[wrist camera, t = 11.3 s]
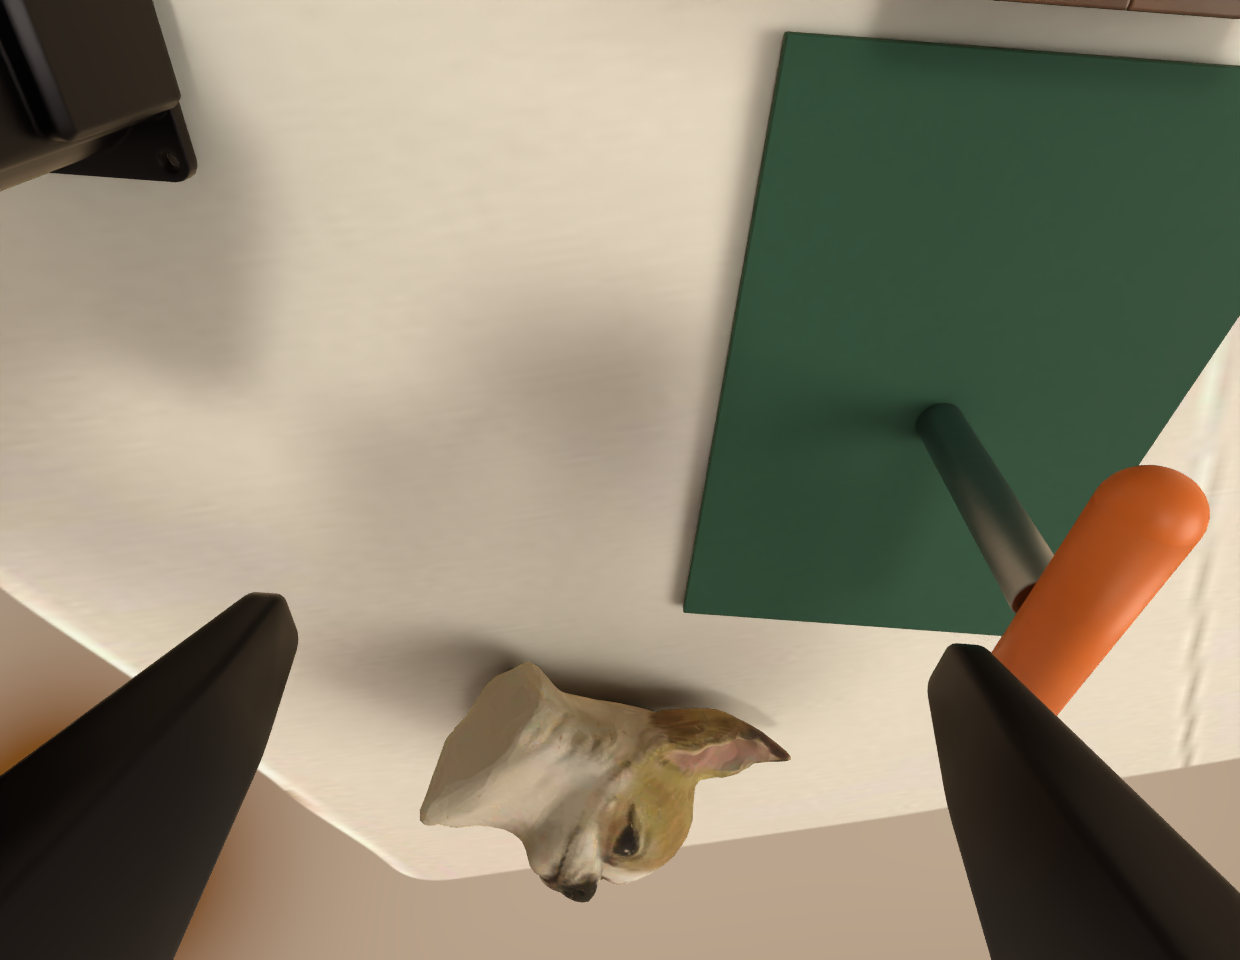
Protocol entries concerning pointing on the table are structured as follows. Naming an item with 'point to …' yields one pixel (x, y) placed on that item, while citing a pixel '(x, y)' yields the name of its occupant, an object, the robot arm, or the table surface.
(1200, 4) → the rack
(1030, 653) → the t handle
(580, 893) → the ceramic sculpture
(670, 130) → the table surface
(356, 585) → the table surface
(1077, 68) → the cutting mat
